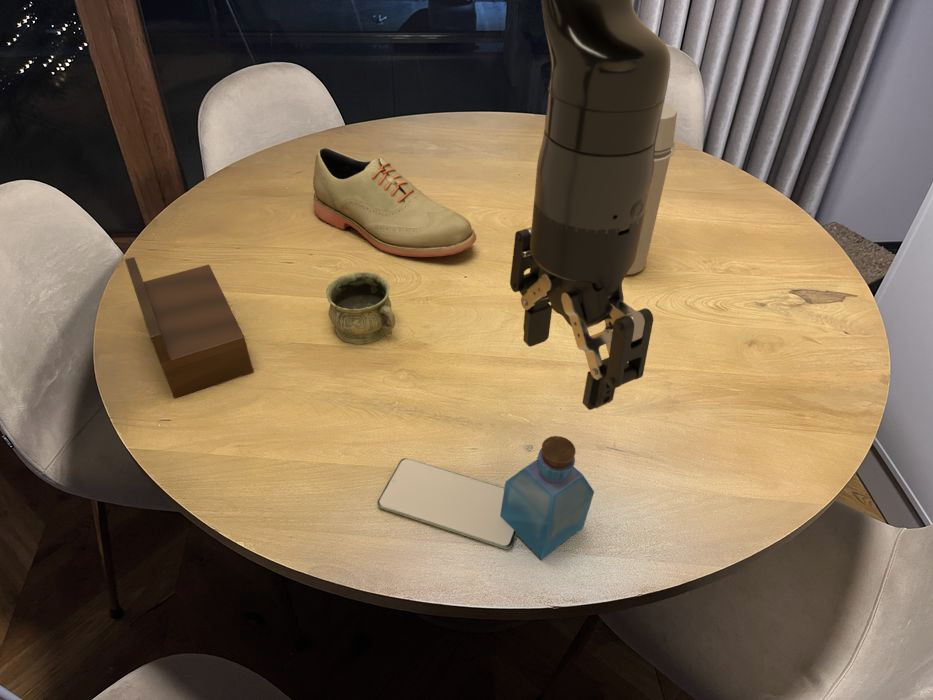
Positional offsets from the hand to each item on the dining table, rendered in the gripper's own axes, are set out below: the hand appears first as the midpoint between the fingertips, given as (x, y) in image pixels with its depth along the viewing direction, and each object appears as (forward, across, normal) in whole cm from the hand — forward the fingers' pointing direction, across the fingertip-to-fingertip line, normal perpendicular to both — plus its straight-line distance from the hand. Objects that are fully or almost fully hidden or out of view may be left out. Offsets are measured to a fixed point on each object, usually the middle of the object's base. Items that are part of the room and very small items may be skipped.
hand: (564, 371), depth 56 cm
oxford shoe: (+22, -60, +10) cm, 64 cm away
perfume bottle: (+22, 0, 0) cm, 22 cm away
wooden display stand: (+22, -46, -25) cm, 57 cm away
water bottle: (+22, -33, +38) cm, 55 cm away
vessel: (+22, -39, -4) cm, 45 cm away
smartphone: (+22, -7, -7) cm, 24 cm away
